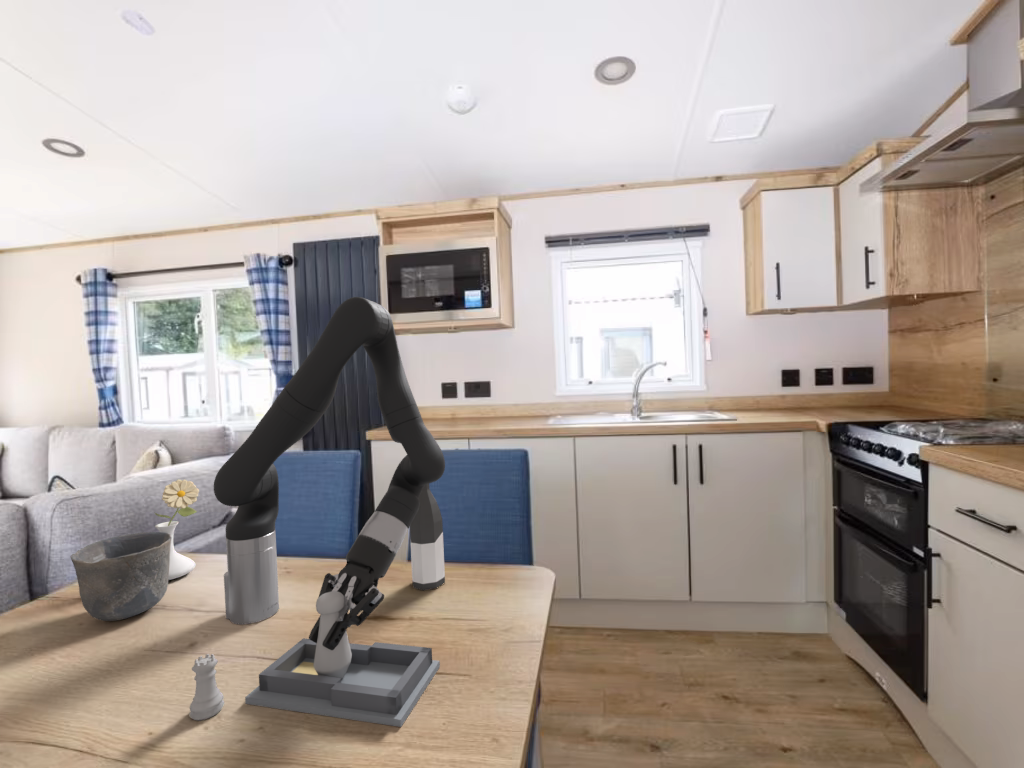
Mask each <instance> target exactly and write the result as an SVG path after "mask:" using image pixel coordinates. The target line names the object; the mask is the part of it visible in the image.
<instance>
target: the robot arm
mask: <svg viewBox="0 0 1024 768" xmlns="http://www.w3.org/2000/svg"><path fill="white" fill-rule="evenodd" d="M361 346H362V348H364V351H365V352H366V353H367V355H368V357H369V359H370V362H371V363H372V367H373V370H374V371H373V372H374V374H375V375H374V376H375V381H376V394H377V395H376V396H377V401H378V406H379V408H380V413H381V416H382V418H383V420H384V423H385V426H386V428H387V431H388V434H389V436H390V437H391V439H392V441H393V442H395V443H398V444H401V446H402V448H403V449H404V451H405V453H406V455H405V456H404V457H403V458H402V459H401V460H400V461H399V463H398V465H397V467H396V469H395V470H394V473H393V475H392V477H391V480H390V483H389V485H388V488H387V490H386V492H385V494H384V495H383V497H382V498H381V500H380V502H379V503H378V505H377V507H376V508H375V510H374V512H373V513H372V515H371V516H370V517H369V519H367V520H366V522H365V524H364V526H363V527H362V529H361V530H360V532H359V534H358V535H357V537H356V539H355V541H354V542H353V544H352V545H351V547H350V549H349V551H348V552H347V554H346V556H345V560H346V563H345V566H344V567H343V568H342V569H341V570H339V572H338V573H337V574H332V573H330V572H328V573H326V574H325V575H324V579H323V581H322V584H321V588H320V591H319V594H318V597H317V599H318V598H319V597H320V596H321V595H322V594H325V593H328V592H334V591H337V592H340V593H342V594H343V595H344V607H343V608H342V609H341V611H340V613H339V616H338V618H337V620H338V622H337V621H335V623H334V624H333V626H332V627H331V629H330V631H329V632H328V634H327V636H326V638H325V639H324V641H323V644H322V645H323V646H324V647H326V648H328V649H330V650H334V649H335V647H336V646H337V645H338V644H339V642H340V640H341V639H342V637H343V635H344V633H345V631H346V632H347V630H348V628H349V627H352V626H357V627H360V625H362V623H364V622H365V621H366V619H367V618H368V617H369V616H370V615H371V614H372V613H373V612H374V610H375V609H376V608H377V607H378V606H379V605H380V604H381V603H382V602H383V601H384V599H385V594H384V593H383V592H381V591H380V590H379V588H378V584H379V580H380V579H383V578H384V577H385V576H386V574H387V573H388V570H389V569H390V566H391V565H392V563H393V562H394V560H395V557H396V555H397V554H398V552H399V550H400V548H401V546H402V544H403V543H404V540H405V538H406V534H407V533H408V530H410V525H411V523H412V521H413V519H414V518H415V516H416V514H417V512H418V510H419V506H420V501H419V499H418V498H419V496H420V493H421V491H422V489H423V488H424V486H425V485H426V484H429V485H430V484H432V483H435V482H437V481H439V480H440V479H441V478H442V477H443V475H444V473H445V470H446V460H445V456H444V453H443V451H442V449H441V446H440V445H439V443H438V442H437V440H436V439H435V437H434V436H433V434H432V433H431V431H430V430H429V429H428V428H427V426H426V424H425V423H424V420H423V417H422V414H421V413H420V409H419V406H418V405H417V402H416V399H415V396H414V394H413V392H412V390H411V386H410V384H409V382H408V378H407V375H406V372H405V368H404V365H403V362H402V359H401V358H402V357H401V354H400V350H399V346H398V341H397V337H396V331H395V327H394V323H393V319H392V316H391V313H390V312H389V311H388V310H387V308H385V307H384V306H383V305H381V304H380V303H377V302H375V301H372V300H370V299H368V298H365V297H363V296H362V297H361V296H353V297H349V298H347V299H346V300H344V301H343V302H341V303H340V305H339V306H338V307H337V308H336V310H335V311H334V313H333V314H332V316H331V317H330V319H329V321H328V322H327V325H326V327H325V328H324V330H323V332H322V333H321V335H320V337H319V339H318V340H317V342H316V343H315V345H314V346H313V348H312V349H311V351H310V352H309V354H308V355H307V357H306V358H305V359H304V361H303V362H302V364H301V365H300V366H299V368H298V369H297V371H296V372H295V373H294V375H292V377H291V378H290V380H289V381H288V382H287V384H285V385H284V387H283V389H282V390H281V392H280V393H279V394H278V395H277V397H276V398H275V400H274V401H273V403H272V404H271V406H270V407H269V408H268V410H267V411H266V413H265V414H264V415H263V417H262V418H261V419H260V421H259V422H258V423H257V425H256V426H255V427H254V429H253V431H252V432H251V433H250V434H249V436H248V437H247V438H246V440H245V441H244V442H243V443H242V444H241V445H240V446H239V448H238V449H237V450H236V451H235V452H234V453H233V454H232V455H231V456H230V457H229V458H228V460H226V461H225V463H224V464H223V465H222V466H221V467H220V468H219V469H218V471H217V472H216V473H217V474H216V475H215V477H214V482H213V493H214V496H215V498H216V499H217V501H218V502H219V503H220V504H222V505H224V506H228V507H237V509H236V511H235V512H234V515H233V516H232V517H231V519H229V521H228V522H227V523H226V526H225V543H226V545H225V546H226V562H227V563H226V565H227V567H226V568H227V571H226V572H224V574H223V583H224V584H223V586H224V605H225V606H224V608H225V619H226V620H227V619H228V620H229V621H230V622H231V623H232V624H236V625H250V624H255V623H258V622H261V621H264V620H267V619H269V618H271V617H273V616H274V615H276V613H278V611H279V610H278V609H280V603H279V602H280V599H279V578H278V577H279V576H278V574H279V573H278V556H277V552H278V551H277V536H276V522H277V521H276V520H277V518H278V517H279V505H280V504H279V503H280V499H279V497H280V496H279V495H280V488H279V483H280V482H279V475H278V474H279V473H278V471H277V467H276V466H275V462H276V461H277V460H278V459H279V457H280V456H282V455H283V454H284V453H285V452H286V451H288V450H289V449H290V448H291V447H293V446H294V445H295V444H296V443H297V442H298V441H300V440H301V439H302V438H304V437H305V436H306V435H307V434H308V433H309V432H310V431H311V430H312V429H313V428H314V427H315V425H317V423H318V422H319V421H320V419H321V418H322V417H323V415H324V414H325V413H326V412H327V410H328V408H329V407H330V406H331V403H332V402H333V400H334V398H335V397H334V396H335V395H336V392H337V391H336V390H337V386H338V382H339V378H340V375H341V373H342V371H343V369H344V368H345V366H346V364H347V363H348V362H349V360H350V359H351V358H352V357H353V355H354V354H355V353H356V352H357V351H358V349H359V348H360V347H361ZM320 616H321V614H319V617H318V618H317V620H316V622H315V623H314V625H313V627H312V629H310V633H309V635H308V639H309V640H311V641H313V642H315V643H317V639H318V632H319V624H320Z"/></svg>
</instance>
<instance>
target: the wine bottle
mask: <svg viewBox="0 0 1024 768" xmlns="http://www.w3.org/2000/svg"><path fill="white" fill-rule="evenodd" d="M430 488H431V487H430V483H429V484H426V485H425V486H424V488H423V489H422V491H421V493H420V496H419V498H418V499H419V501H420V506H419V510H418V512H417V514H416V516H415V518H414V519H413V521H412V523H411V525H410V527H409V539H410V540H409V541H410V556H411V557H410V562H411V563H410V564H411V579H412V580H411V581H412V587H413V589H416V590H420V591H427V590H429V589H430V590H435V589H434V588H436V589H438V588H439V586H440V585H441V586H443V585H444V584H446V574H445V573H446V572H445V571H446V570H445V553H444V551H445V550H444V547H445V546H444V530H443V529H444V528H443V523H444V522H443V517H442V516H443V515H442V513H441V510H440V507H439V504H438V502H437V499H436V498H435V497H434V494H433V493H432V491H431V489H430ZM443 583H444V584H443ZM442 584H443V585H442ZM441 586H440V587H441ZM437 587H438V588H437ZM430 590H429V591H430Z"/></svg>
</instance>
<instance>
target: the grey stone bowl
mask: <svg viewBox="0 0 1024 768" xmlns="http://www.w3.org/2000/svg"><path fill="white" fill-rule="evenodd" d="M171 539H172V537H171V536H170V534H168V533H165V532H159V531H149V532H148V531H145V532H135V533H128V534H122V535H117V536H113V537H110V538H105V539H102V540H98V541H95V542H93V543H91V544H88V545H86V546H83V548H80V549H78V550H77V551H76V552H75V553H72V554H71V555H70V560H71V561H72V562H71V563H72V564H73V567H74V570H75V574H76V578H77V585H78V590H79V591H78V592H79V597H80V600H81V603H82V606H83V608H84V610H86V611H87V613H88V614H89V615H90V616H91V617H92V618H94V619H95V620H99V621H105V622H106V621H107V622H113V621H120V620H121V621H122V620H126V619H128V618H132V617H134V616H137V615H139V614H141V613H143V612H146V611H148V610H149V609H151V608H153V607H154V606H156V605H157V604H158V603H159V602H161V601H162V599H163V598H164V596H165V594H166V593H167V590H168V585H169V580H168V577H169V565H170V544H171Z"/></svg>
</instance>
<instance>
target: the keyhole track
mask: <svg viewBox="0 0 1024 768" xmlns="http://www.w3.org/2000/svg"><path fill="white" fill-rule="evenodd" d="M349 644H350V649H351V653H352V658H351V663H350V665H349V667H348V670H347V672H346V674H345V676H344V678H336V677H328V676H320V675H318V674H317V672H316V671H315V669H314V666H313V665H314V658H315V652H316V645H317V643H315V642H313V641H311V640H309V638H304V637H303V638H301V640H299V641H298V642H297V643H296V644H294V645H293V646H292V647H291V648H289V649H288V650H286V652H285V653H283V654H282V655H281V656H280V657H278V658H277V659H276V660H274V661H273V662H272V663H271V664H270V665H268V666H267V667H266V668H265V669H263V671H261V672H260V673H259V674H258V683H259V685H258V686H257V687H256V688H254V689H253V690H251V692H250V693H248V694H247V695H246V696H245V699H244V700H245V701H244V703H245V705H250V706H251V705H252V706H257V707H258V706H259V707H264V708H265V707H266V708H271V709H272V708H273V709H279V710H283V711H284V710H286V711H292V712H298V713H299V712H300V713H306V714H312V715H318V716H326V717H333V718H338V719H345V720H353V721H358V722H359V721H360V722H365V723H373V724H379V725H385V726H386V725H387V726H393V727H400V728H402V726H403V725H404V724H405V722H406V720H407V719H408V717H409V715H410V714H411V713H412V711H413V710H414V708H415V706H416V705H417V703H418V702H419V700H420V698H421V697H422V696H423V694H424V692H425V690H426V689H427V688H428V686H429V684H430V683H431V681H432V680H433V678H434V677H435V676H436V673H437V672H438V671H439V669H440V667H441V662H440V660H437V659H435V660H434V659H433V652H432V651H433V650H432V647H425V646H418V645H417V646H415V645H407V644H406V645H405V644H396V643H389V642H388V643H387V642H377V641H375V642H373V644H371V645H370V644H361V643H360V644H359V643H350V642H349Z"/></svg>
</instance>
